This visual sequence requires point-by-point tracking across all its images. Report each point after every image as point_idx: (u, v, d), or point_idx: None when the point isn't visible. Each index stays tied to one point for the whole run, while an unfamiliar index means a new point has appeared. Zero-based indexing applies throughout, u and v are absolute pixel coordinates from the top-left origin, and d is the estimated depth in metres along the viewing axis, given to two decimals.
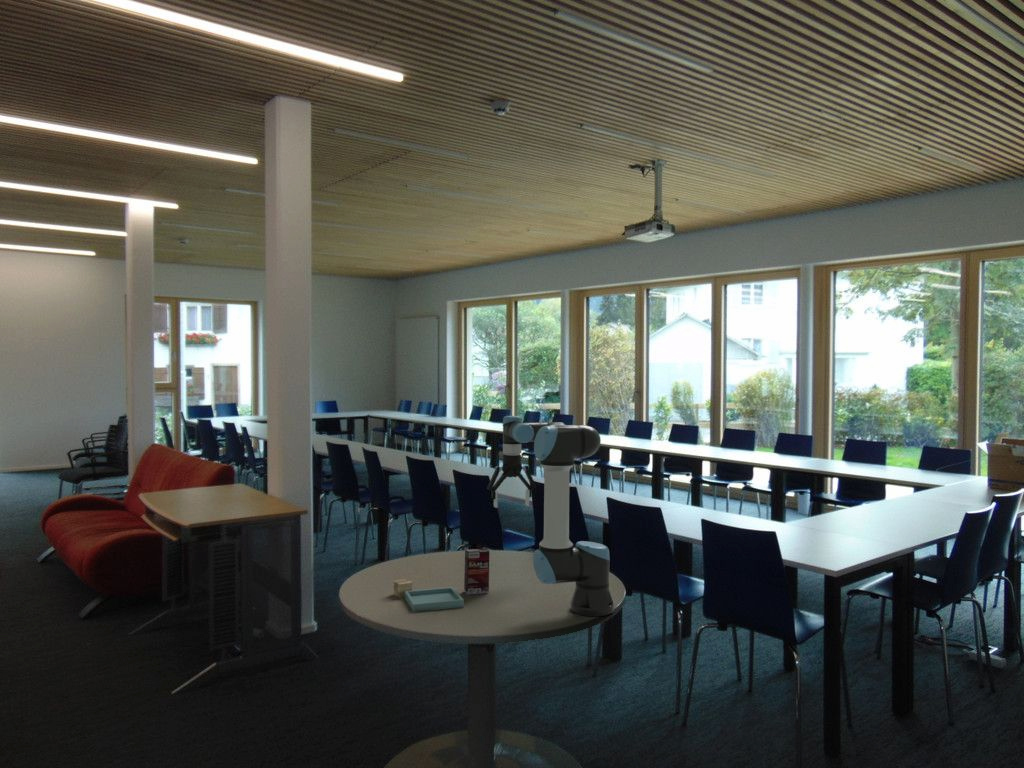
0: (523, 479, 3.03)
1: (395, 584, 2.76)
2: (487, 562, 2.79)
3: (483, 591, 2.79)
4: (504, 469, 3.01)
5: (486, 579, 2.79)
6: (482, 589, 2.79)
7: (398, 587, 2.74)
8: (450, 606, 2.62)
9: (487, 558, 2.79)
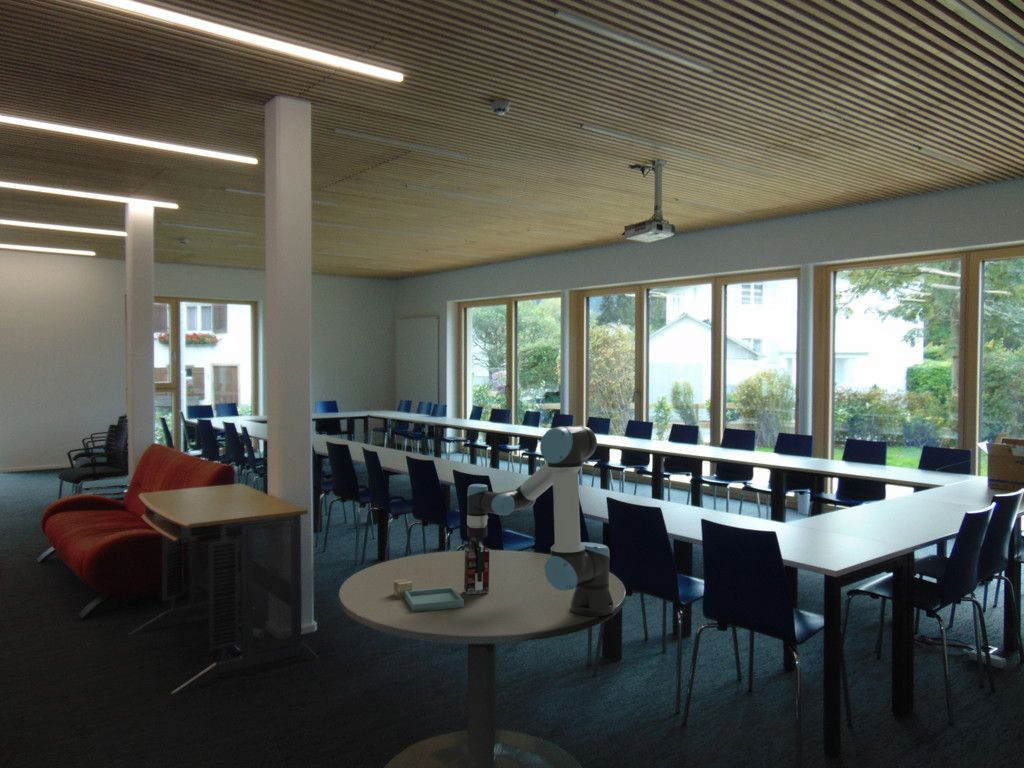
0: None
1: (395, 584, 2.76)
2: (487, 562, 2.79)
3: (483, 591, 2.79)
4: (472, 540, 2.83)
5: (486, 579, 2.79)
6: None
7: (398, 586, 2.74)
8: (450, 606, 2.62)
9: (487, 558, 2.79)
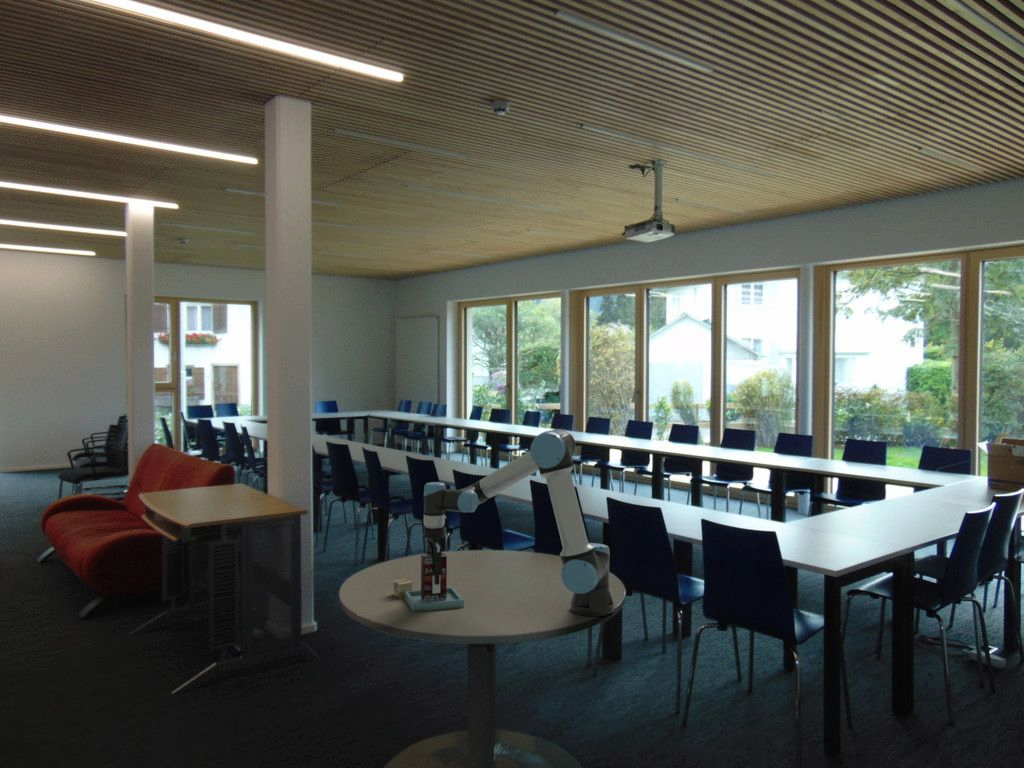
0: (432, 559, 2.64)
1: (395, 584, 2.76)
2: (444, 568, 2.66)
3: (440, 598, 2.66)
4: (429, 541, 2.70)
5: (443, 586, 2.66)
6: (439, 596, 2.66)
7: (398, 587, 2.74)
8: (450, 606, 2.62)
9: (444, 564, 2.66)
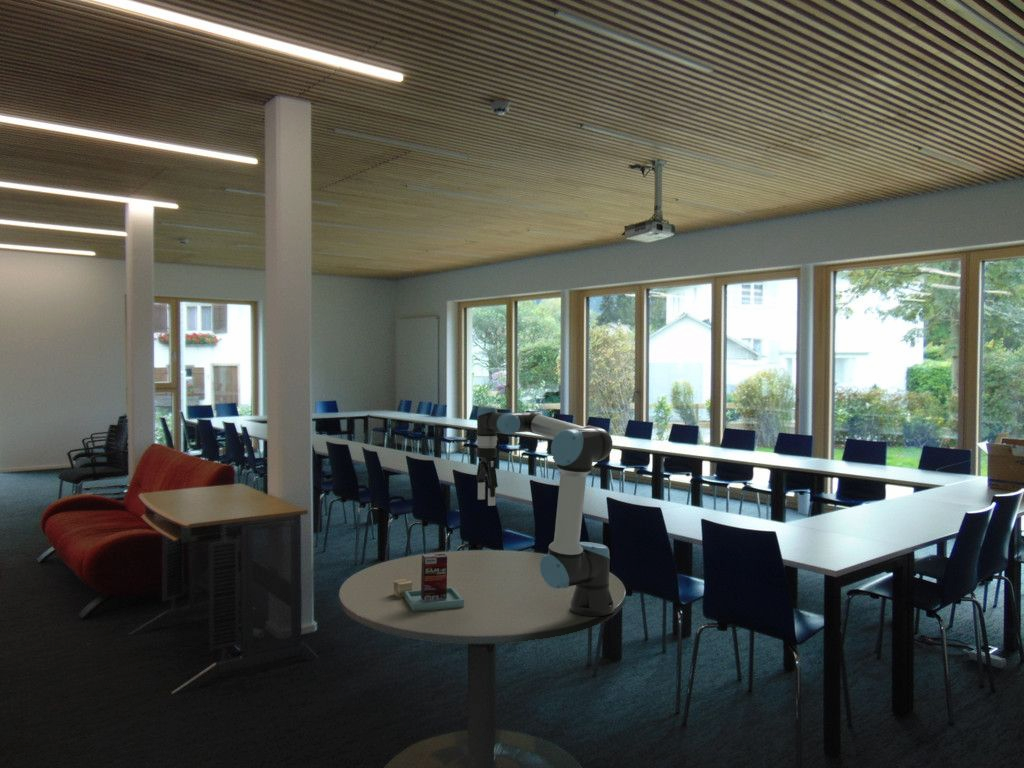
0: (487, 475, 2.81)
1: (395, 584, 2.75)
2: (445, 568, 2.66)
3: (440, 598, 2.66)
4: (481, 461, 2.88)
5: (443, 586, 2.66)
6: (439, 596, 2.66)
7: (398, 587, 2.74)
8: (450, 606, 2.62)
9: (445, 564, 2.66)
